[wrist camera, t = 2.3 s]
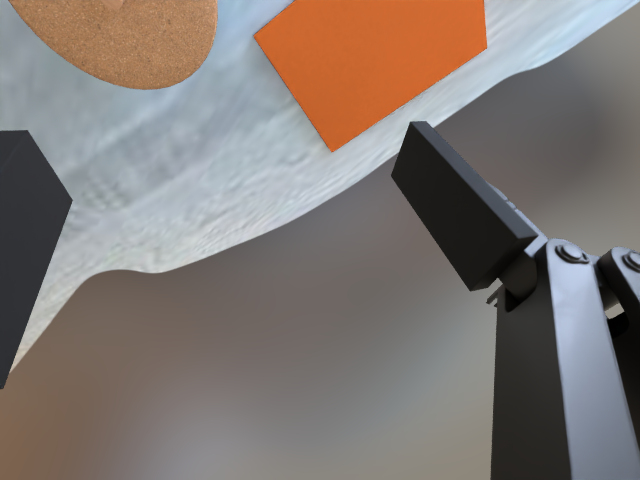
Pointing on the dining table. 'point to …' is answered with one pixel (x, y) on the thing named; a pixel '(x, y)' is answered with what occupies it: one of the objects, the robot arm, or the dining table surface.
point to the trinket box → (126, 37)
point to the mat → (368, 55)
